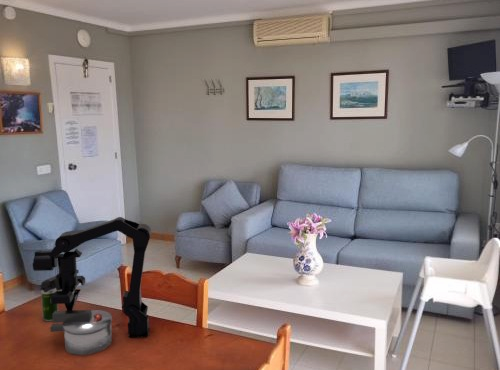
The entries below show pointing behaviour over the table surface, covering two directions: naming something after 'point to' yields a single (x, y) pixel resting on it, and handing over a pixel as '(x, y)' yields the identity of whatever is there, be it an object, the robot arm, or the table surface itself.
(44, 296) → the beer can
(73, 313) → the cooker lid
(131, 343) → the table surface
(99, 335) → the cooker pot
